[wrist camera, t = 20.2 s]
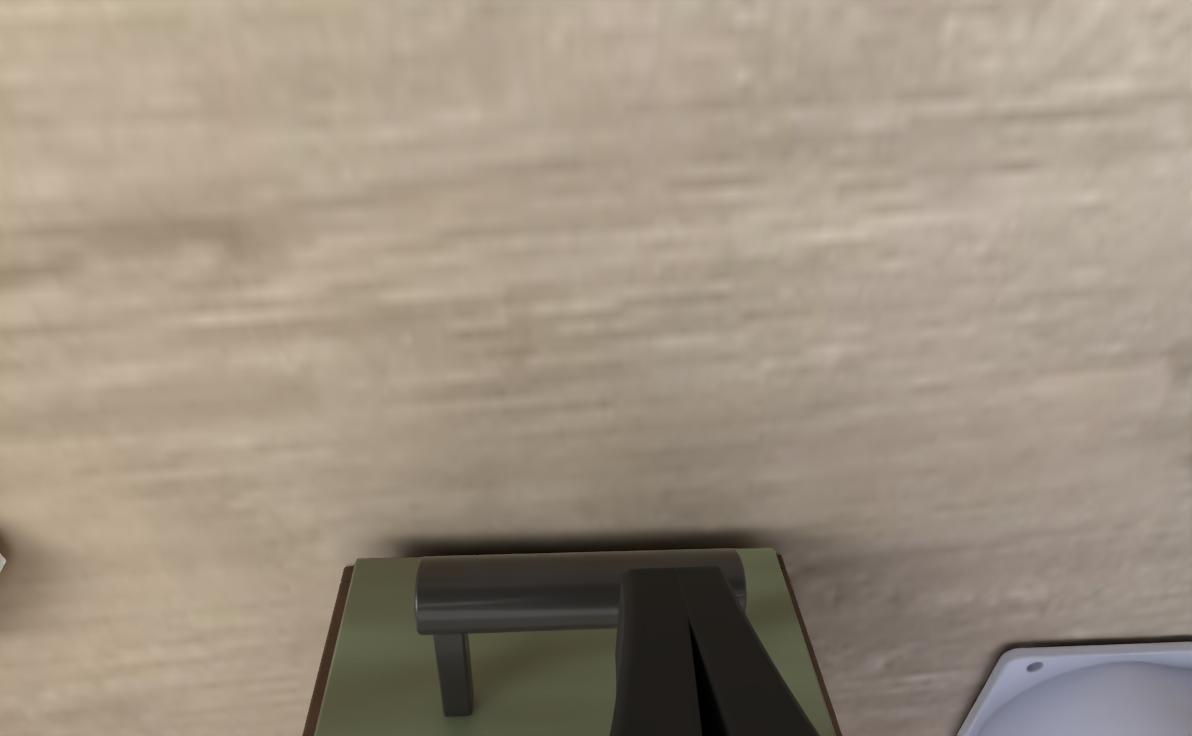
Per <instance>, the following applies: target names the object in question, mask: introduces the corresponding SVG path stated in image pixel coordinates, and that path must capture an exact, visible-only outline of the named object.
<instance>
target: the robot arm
mask: <svg viewBox="0 0 1192 736" xmlns="http://www.w3.org/2000/svg"><path fill="white" fill-rule="evenodd" d="M615 662H616V700H615V707H614V714H613V720H612V725H611V730H610V735H609V736H820V735H819V733H818V732H817V730H816V729H815V728H814V726H813V725H812V723H811V721H810V720H809V718H808V717H807V715H806V714H805V712H804V711H803V709H802V707H801V706H800V704H799V703H798V701H797V700H796V698H795V696H794V695H793V693H792V692H791V690H790V689H789V687H788V686H787V684H786V682H785V681H784V679H783V678H782V676H781V674H780V673H779V671H778V669H777V668H776V666H775V664H774V663H773V661H772V659H771V658H770V656H769V654H768V653H767V651H766V649H765V647H764V646H763V644H762V642H761V641H760V639H759V637H758V635H757V634H756V632H755V630H754V628H753V626H752V625H751V623H750V621H749V619H748V617H747V616H746V614H745V612H744V610H743V608H742V606H741V604H740V602H739V601H738V599H737V597H736V595H735V593H734V591H733V589H732V587H731V585H730V583H729V581H728V579H727V576H726V574H725V572H724V571H723V570H722V569H720V568H719V567H718V566H707V567H671V568H636V569H629V570H628V571H626V572H625V573H623V574H622V575H621V587H620V599H619V612H618V624H617V637H616V650H615ZM957 736H1192V642H1166V643H1139V644H1113V645H1087V646H1060V647H1034V648H1016V649H1012V650H1009V651H1007V652H1005V653H1004V654H1003V655H1002V656H1001V657H1000V659H999V661H998V662H997V664H996V666H995V668H994V669H993V671H992V673H991V675H990V677H989V678H988V680H987V682H986V684H985V686H984V687H983V689H982V691H981V693H980V695H979V696H978V698H977V700H976V702H975V703H974V705H973V707H972V709H971V711H970V712H969V714H968V716H967V718H966V720H965V721H964V723H963V725H962V727H961V728H960V730H959V732H958V734H957Z"/></svg>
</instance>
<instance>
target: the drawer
mask: <svg viewBox="0 0 1192 736" xmlns="http://www.w3.org/2000/svg"><path fill="white" fill-rule="evenodd" d="M707 566H718V567H719V568H720V569H722V570H723V571H724V572H725V574H726V576H727V579H728V581H729V583H730V585H731V587H732V589H733V591H734V593H735V595H736V597H737V599H738V601H739V602H740V604H741V606H742V608H743V610H744V612H745V614H746V616H747V617H748V619H749V621H750V623H751V625H752V626H753V628H754V630H755V632H756V634H757V635H758V637H759V639H760V641H761V642H762V644H763V646H764V647H765V649H766V651H767V653H768V654H769V656H770V658H771V659H772V661H773V663H774V664H775V666H776V668H777V669H778V671H779V673H780V674H781V676H782V678H783V679H784V681H785V682H786V684H787V686H788V687H789V689H790V690H791V692H792V693H793V695H794V696H795V698H796V700H797V701H798V703H799V704H800V706H801V707H802V709H803V711H804V712H805V714H806V715H807V717H808V718H809V720H810V721H811V723H812V725H813V726H814V728H815V729H816V730H817V732H818V733H819V735H820V736H836V734H835V731H834V728H833V725H832V722H831V719H830V716H829V713H828V710H827V707H826V704H825V701H824V698H823V695H822V692H821V689H820V686H819V683H818V680H817V677H816V674H815V671H814V668H813V664H812V661H811V658H810V655H809V652H808V649H807V646H806V643H805V640H804V637H803V634H802V631H801V628H800V625H799V622H798V619H797V616H796V613H795V610H794V607H793V604H792V601H791V598H790V595H789V592H788V589H787V586H786V583H785V580H784V577H783V574H782V571H781V568H780V565H779V562H778V558H777V555H776V552H775V549H774V548H738V549H733V548H721V549H684V550H646V551H609V552H572V553H535V554H498V555H461V556H424V557H404V558H367V559H357V560H356V562H355V565H354V570H353V574H352V578H351V582H350V587H349V591H348V595H347V599H346V603H345V608H344V612H343V616H342V620H341V625H340V629H339V633H338V637H337V642H336V646H335V650H334V654H333V658H332V663H331V667H330V671H329V675H328V680H327V684H326V688H325V692H324V697H323V701H322V705H321V709H320V714H319V718H318V722H317V726H316V730H315V735H314V736H609V735H610V730H611V725H612V720H613V714H614V707H615V700H616V662H615V650H616V637H617V624H618V612H619V599H620V587H621V575H622V574H623V573H625V572H626V571H628V570H629V569H636V568H671V567H707Z"/></svg>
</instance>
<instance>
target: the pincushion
mask: <svg viewBox="0 0 1192 736" xmlns="http://www.w3.org/2000/svg"><path fill="white" fill-rule="evenodd" d="M5 562H6V560H5V558H4V557H3V556H2V555H1V554H0V571H1V570H2V568H3V566H4V564H5Z"/></svg>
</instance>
